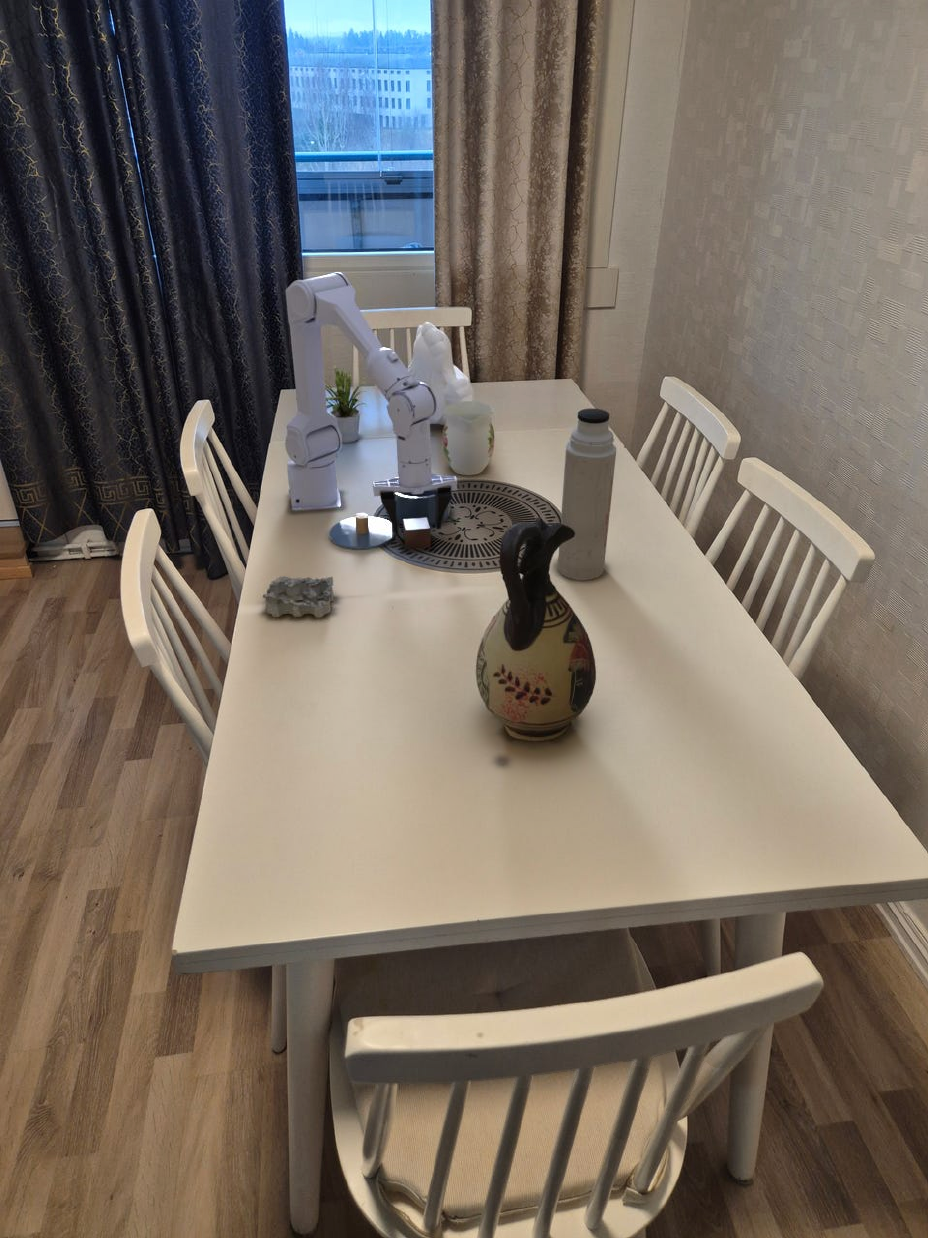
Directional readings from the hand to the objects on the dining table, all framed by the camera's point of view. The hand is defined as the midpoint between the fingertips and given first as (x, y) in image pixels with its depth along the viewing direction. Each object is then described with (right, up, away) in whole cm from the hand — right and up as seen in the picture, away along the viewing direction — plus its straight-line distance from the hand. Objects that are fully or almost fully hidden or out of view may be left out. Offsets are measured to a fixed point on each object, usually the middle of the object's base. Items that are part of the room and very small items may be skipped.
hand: (416, 528), depth 151 cm
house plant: (-20, +26, +46) cm, 56 cm away
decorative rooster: (+3, +29, +51) cm, 59 cm away
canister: (0, +4, +12) cm, 13 cm away
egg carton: (-18, -14, -15) cm, 27 cm away
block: (0, -3, +2) cm, 4 cm away
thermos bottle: (+29, -8, -5) cm, 30 cm away
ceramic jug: (+17, -30, -38) cm, 52 cm away
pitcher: (+9, +16, +31) cm, 36 cm away
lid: (-10, -1, +5) cm, 11 cm away
